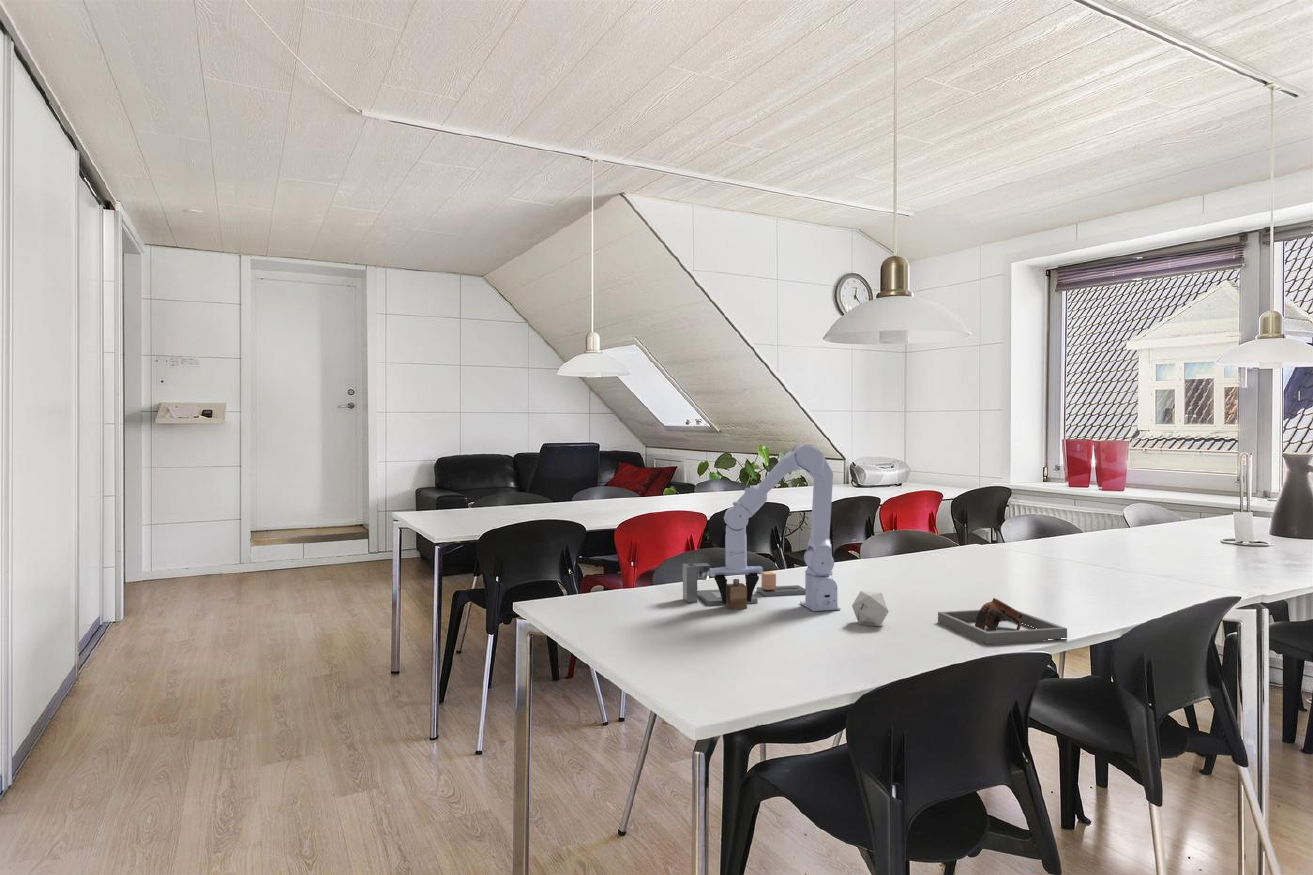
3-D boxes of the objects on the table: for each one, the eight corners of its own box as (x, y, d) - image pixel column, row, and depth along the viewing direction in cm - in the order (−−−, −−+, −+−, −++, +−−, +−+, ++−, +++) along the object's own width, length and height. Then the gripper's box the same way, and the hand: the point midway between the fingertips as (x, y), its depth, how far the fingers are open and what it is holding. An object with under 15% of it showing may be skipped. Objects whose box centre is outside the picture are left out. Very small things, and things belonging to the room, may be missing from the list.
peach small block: (775, 589, 220) (775, 574, 220) (766, 589, 220) (765, 574, 219) (771, 586, 224) (771, 571, 224) (761, 587, 223) (761, 571, 223)
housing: (746, 608, 204) (746, 580, 204) (730, 609, 203) (730, 581, 203) (741, 604, 208) (741, 577, 208) (726, 605, 207) (725, 578, 207)
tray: (1067, 639, 172) (1067, 628, 172) (987, 644, 168) (987, 633, 168) (1010, 617, 192) (1010, 607, 192) (937, 622, 188) (937, 612, 188)
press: (757, 603, 210) (757, 567, 210) (690, 606, 206) (690, 569, 206) (742, 592, 223) (742, 558, 223) (679, 595, 220) (679, 561, 220)
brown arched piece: (974, 624, 188) (992, 595, 188) (1011, 647, 183) (1029, 617, 182) (966, 622, 178) (984, 592, 178) (1005, 646, 173) (1024, 615, 172)
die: (847, 622, 191) (843, 597, 186) (870, 602, 194) (867, 577, 189) (872, 640, 185) (869, 615, 180) (896, 619, 188) (894, 594, 183)
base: (807, 594, 220) (807, 589, 220) (764, 596, 218) (764, 591, 218) (798, 589, 227) (798, 584, 227) (756, 591, 225) (756, 586, 225)
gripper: (757, 548, 211) (757, 597, 211) (706, 550, 208) (706, 599, 208) (765, 552, 204) (765, 602, 204) (713, 554, 201) (713, 605, 201)
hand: (736, 601), depth 205 cm, fingers open, 6 cm apart
